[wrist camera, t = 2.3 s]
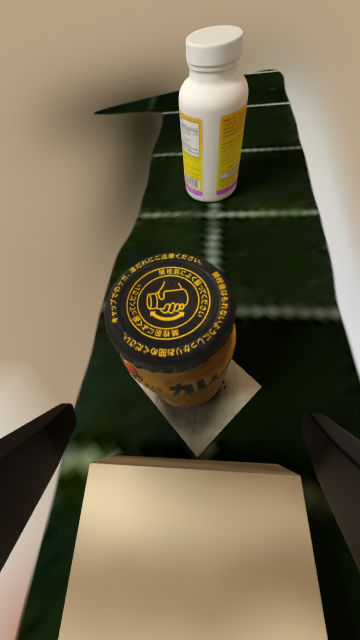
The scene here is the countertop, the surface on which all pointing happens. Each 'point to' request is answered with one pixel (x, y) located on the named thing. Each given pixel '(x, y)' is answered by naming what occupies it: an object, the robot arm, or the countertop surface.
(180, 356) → the condiment
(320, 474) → the robot arm
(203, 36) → the supplement bottle
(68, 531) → the countertop surface
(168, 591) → the wooden block
